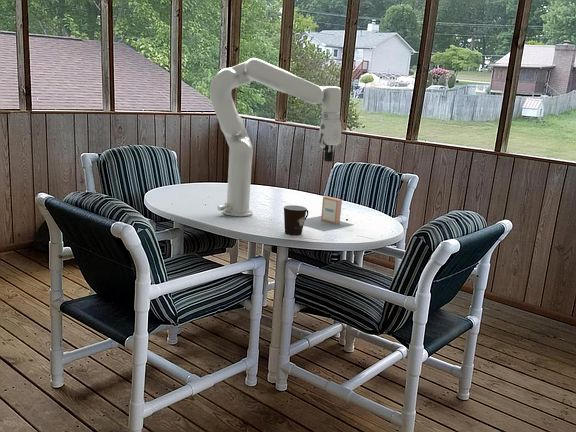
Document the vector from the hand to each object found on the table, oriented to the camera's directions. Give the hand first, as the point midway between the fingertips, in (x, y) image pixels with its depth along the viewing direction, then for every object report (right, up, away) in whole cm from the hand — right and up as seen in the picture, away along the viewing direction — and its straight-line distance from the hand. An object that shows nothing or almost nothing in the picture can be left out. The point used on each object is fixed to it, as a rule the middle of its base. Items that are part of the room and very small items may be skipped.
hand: (328, 161), depth 234 cm
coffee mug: (-14, -30, -23) cm, 40 cm away
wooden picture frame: (+1, -25, -2) cm, 26 cm away
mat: (-3, -27, -6) cm, 27 cm away
